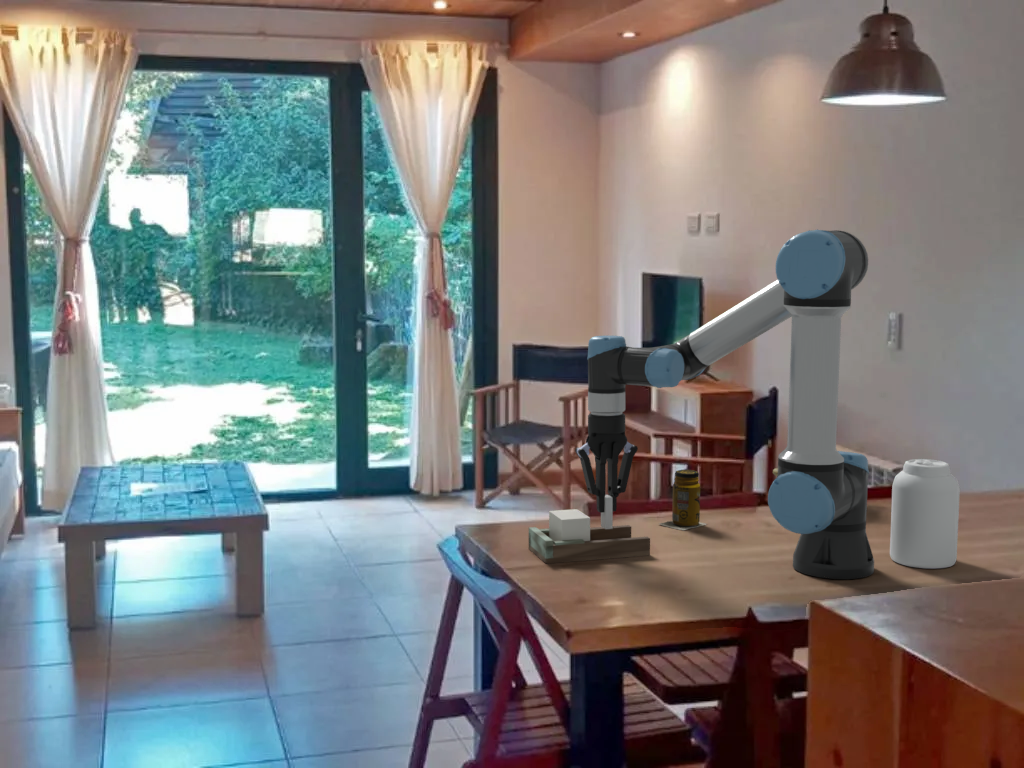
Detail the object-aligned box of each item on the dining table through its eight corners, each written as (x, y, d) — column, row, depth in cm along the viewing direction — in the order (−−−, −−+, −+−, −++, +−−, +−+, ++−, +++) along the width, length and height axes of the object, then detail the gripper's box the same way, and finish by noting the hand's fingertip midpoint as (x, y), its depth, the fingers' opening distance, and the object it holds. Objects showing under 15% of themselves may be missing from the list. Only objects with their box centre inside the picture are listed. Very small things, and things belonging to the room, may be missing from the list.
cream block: (589, 552, 239) (590, 517, 238) (561, 554, 237) (561, 519, 236) (576, 542, 246) (576, 509, 246) (549, 544, 245) (549, 510, 244)
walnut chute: (649, 555, 241) (650, 533, 240) (545, 563, 235) (545, 541, 234) (628, 541, 252) (628, 520, 251) (528, 548, 246) (528, 527, 245)
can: (876, 556, 240) (880, 458, 237) (927, 550, 244) (931, 454, 242) (918, 572, 228) (922, 469, 226) (970, 566, 232) (975, 465, 230)
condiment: (707, 524, 266) (708, 471, 265) (683, 531, 261) (684, 477, 259) (681, 519, 272) (682, 467, 270) (657, 525, 266) (658, 472, 264)
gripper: (629, 408, 246) (629, 521, 249) (569, 411, 242) (570, 525, 245) (643, 413, 239) (643, 529, 241) (582, 416, 235) (583, 534, 238)
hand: (606, 527), depth 243 cm, fingers closed
